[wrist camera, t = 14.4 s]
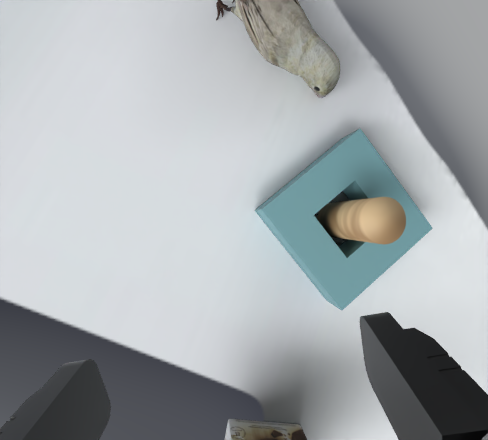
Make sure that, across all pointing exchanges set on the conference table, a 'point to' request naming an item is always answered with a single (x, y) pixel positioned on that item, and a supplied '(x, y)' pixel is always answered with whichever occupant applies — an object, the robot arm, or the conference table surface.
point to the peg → (364, 220)
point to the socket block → (315, 236)
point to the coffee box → (262, 430)
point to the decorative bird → (288, 40)
